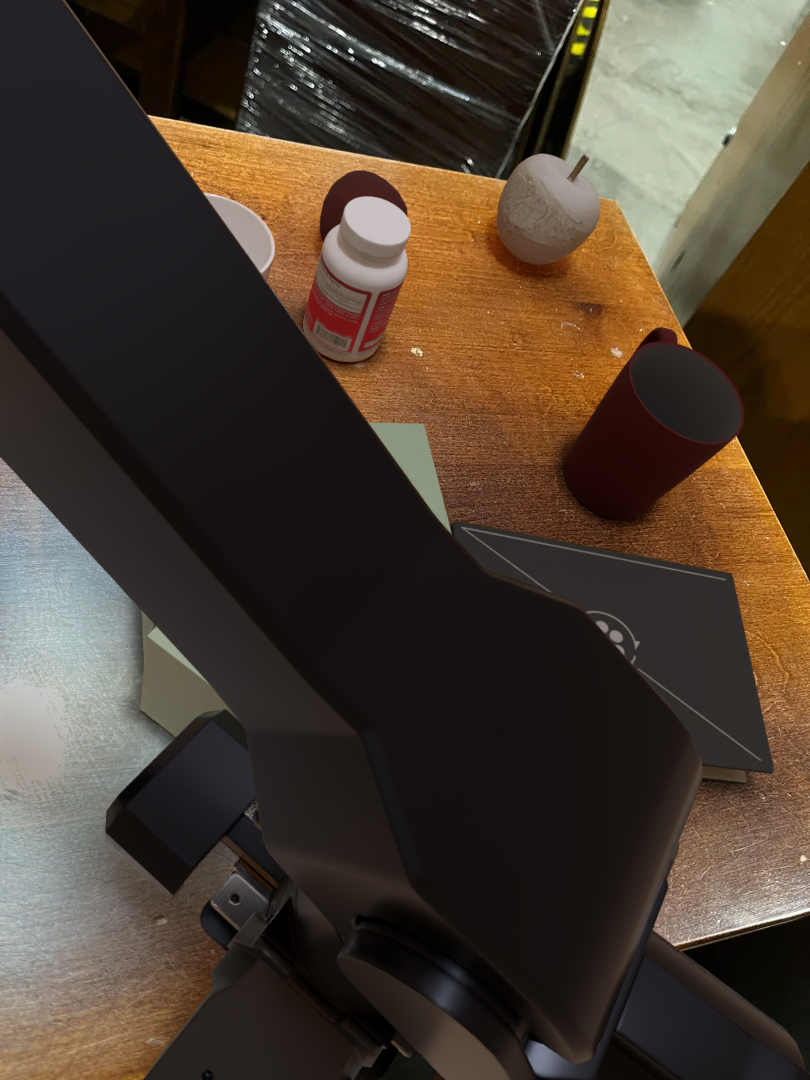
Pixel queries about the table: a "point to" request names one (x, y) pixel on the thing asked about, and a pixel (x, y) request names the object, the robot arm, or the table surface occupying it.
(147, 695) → the door
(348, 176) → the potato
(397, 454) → the cupboard
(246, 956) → the robot arm
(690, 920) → the table surface
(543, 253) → the decorative object
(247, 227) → the white cup
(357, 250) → the pill bottle
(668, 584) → the book
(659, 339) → the mug
